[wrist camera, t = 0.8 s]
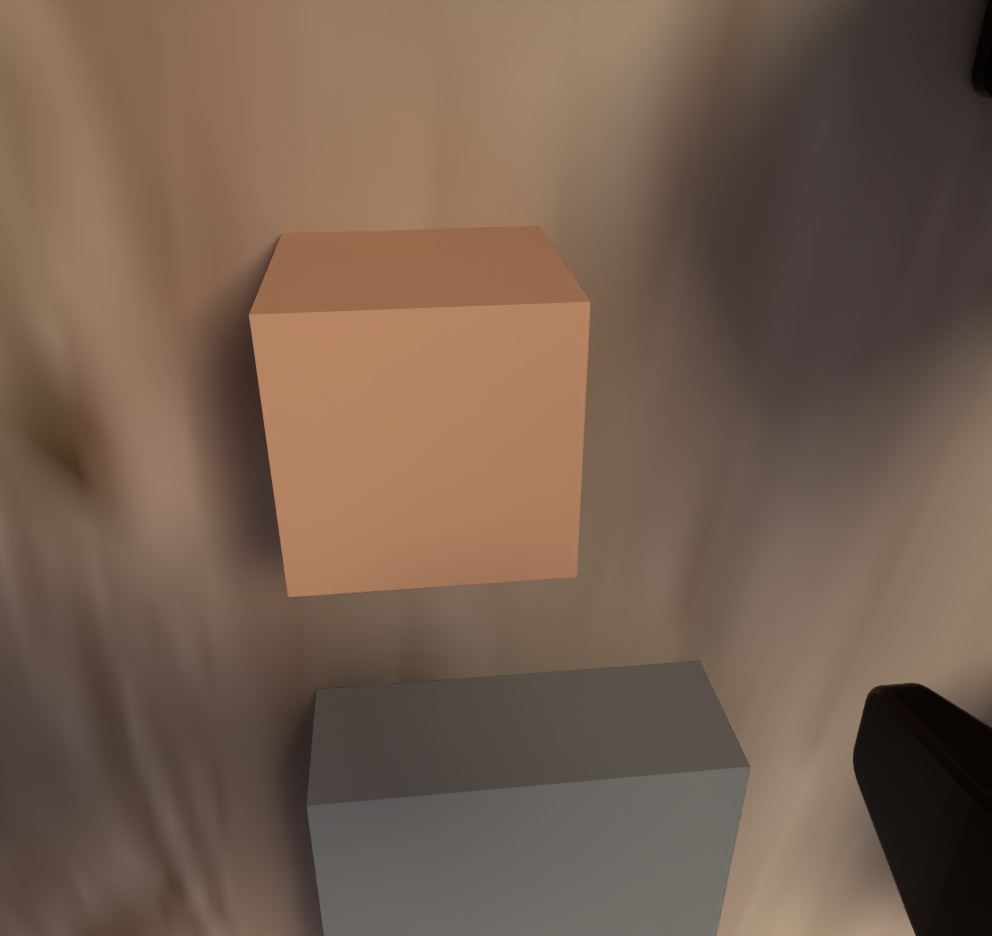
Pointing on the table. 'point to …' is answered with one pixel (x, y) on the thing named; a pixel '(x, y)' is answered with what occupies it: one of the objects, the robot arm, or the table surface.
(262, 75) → the table surface
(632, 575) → the table surface
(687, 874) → the slate block
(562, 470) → the terracotta cube
